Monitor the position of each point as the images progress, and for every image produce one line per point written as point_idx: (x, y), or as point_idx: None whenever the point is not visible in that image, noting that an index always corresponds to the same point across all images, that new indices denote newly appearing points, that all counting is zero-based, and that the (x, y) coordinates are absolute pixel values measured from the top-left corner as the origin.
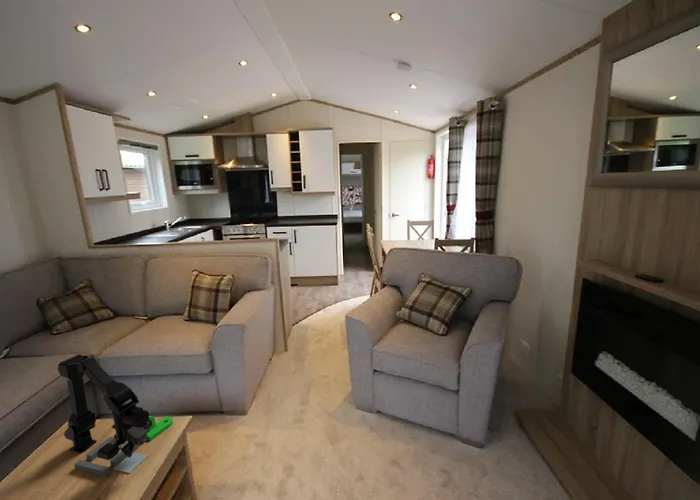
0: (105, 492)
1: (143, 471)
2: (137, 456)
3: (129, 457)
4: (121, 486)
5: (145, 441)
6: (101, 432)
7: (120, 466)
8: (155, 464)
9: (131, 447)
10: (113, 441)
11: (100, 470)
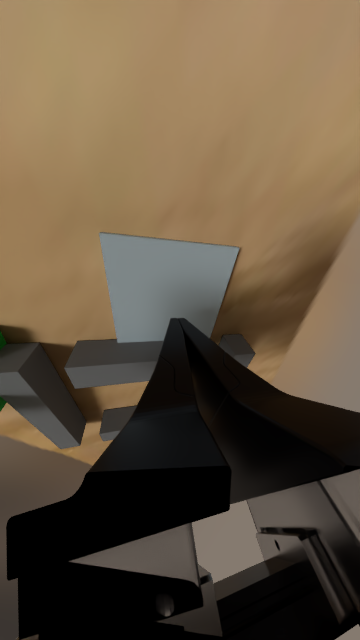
0: (320, 273)
1: (227, 142)
2: (127, 301)
3: (183, 320)
4: (316, 220)
5: (24, 346)
6: (94, 446)
7: (198, 324)
8: (141, 34)
9: (189, 369)
10: (109, 421)
11: (248, 364)
